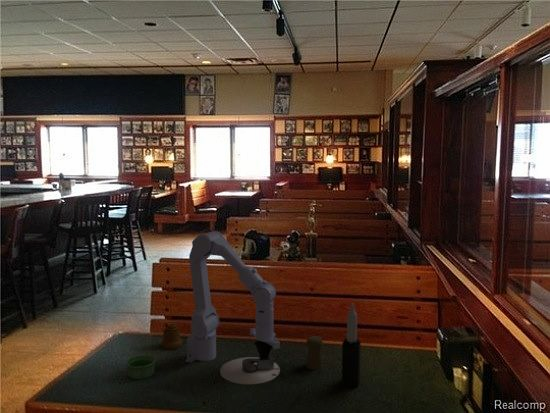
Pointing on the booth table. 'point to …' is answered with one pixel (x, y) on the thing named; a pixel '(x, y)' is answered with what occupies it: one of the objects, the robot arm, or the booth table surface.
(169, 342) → the ornamental finial
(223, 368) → the dial plate
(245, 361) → the dial pointer
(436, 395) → the booth table surface
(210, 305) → the robot arm
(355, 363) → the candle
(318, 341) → the cork
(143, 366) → the ramekin
